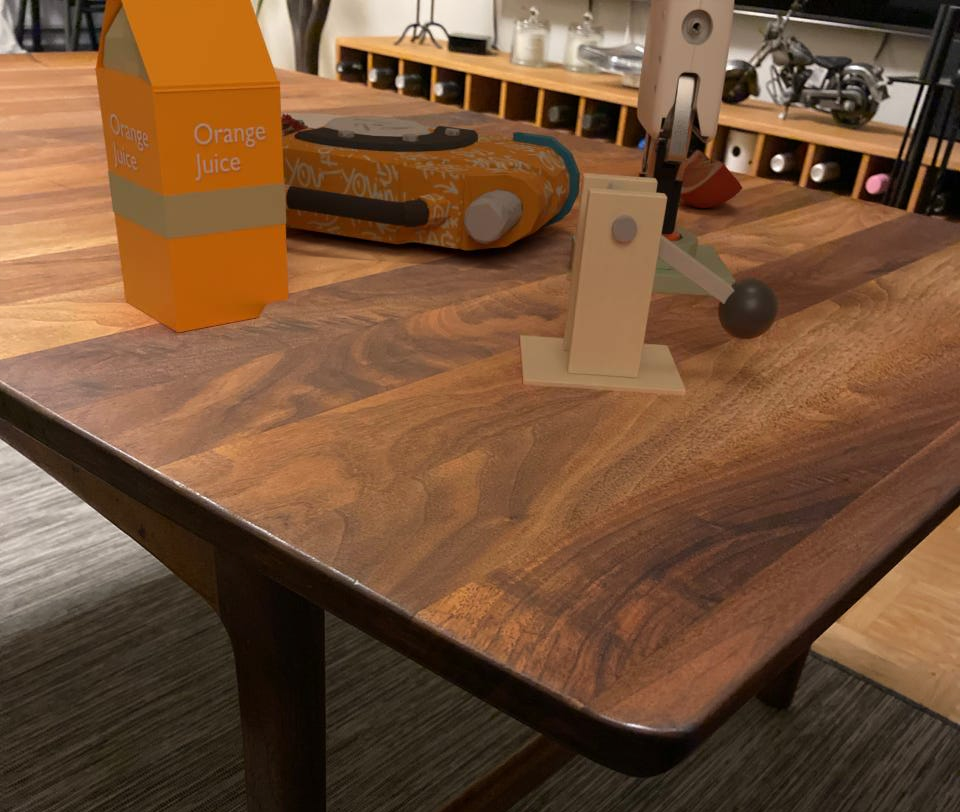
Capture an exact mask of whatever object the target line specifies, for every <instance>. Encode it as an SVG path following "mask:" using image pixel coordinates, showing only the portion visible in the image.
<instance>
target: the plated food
mask: <svg viewBox="0 0 960 812" xmlns="http://www.w3.org/2000/svg"><path fill="white" fill-rule="evenodd" d="M348 116H349V115H343V114H342V115H341V114H329V113H311V112H308V113H307V112H306V113H305V112H304V113H303V112H281V122H282V137H284V136H287V135H289V134H292V133H295V132H298V131H301V130H304V129H307V128H311V129H316V128H319V127H322V126H325V124H327V123H328V122H329V121H330V120H332V119H333V118H340V117H348Z"/></svg>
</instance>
